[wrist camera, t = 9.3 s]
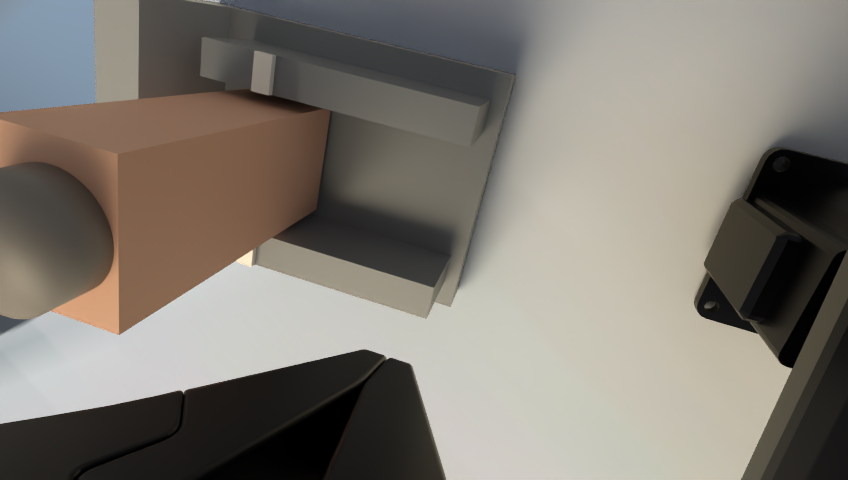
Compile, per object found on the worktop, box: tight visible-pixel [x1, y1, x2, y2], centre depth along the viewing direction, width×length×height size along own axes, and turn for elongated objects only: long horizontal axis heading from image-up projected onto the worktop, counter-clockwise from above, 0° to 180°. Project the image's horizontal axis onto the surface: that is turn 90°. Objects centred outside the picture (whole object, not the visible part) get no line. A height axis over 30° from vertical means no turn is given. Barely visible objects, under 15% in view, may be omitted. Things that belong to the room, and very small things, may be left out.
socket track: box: [94, 0, 516, 318], centre depth 18 cm, size 12×9×6 cm
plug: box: [0, 89, 331, 335], centre depth 15 cm, size 3×4×11 cm
